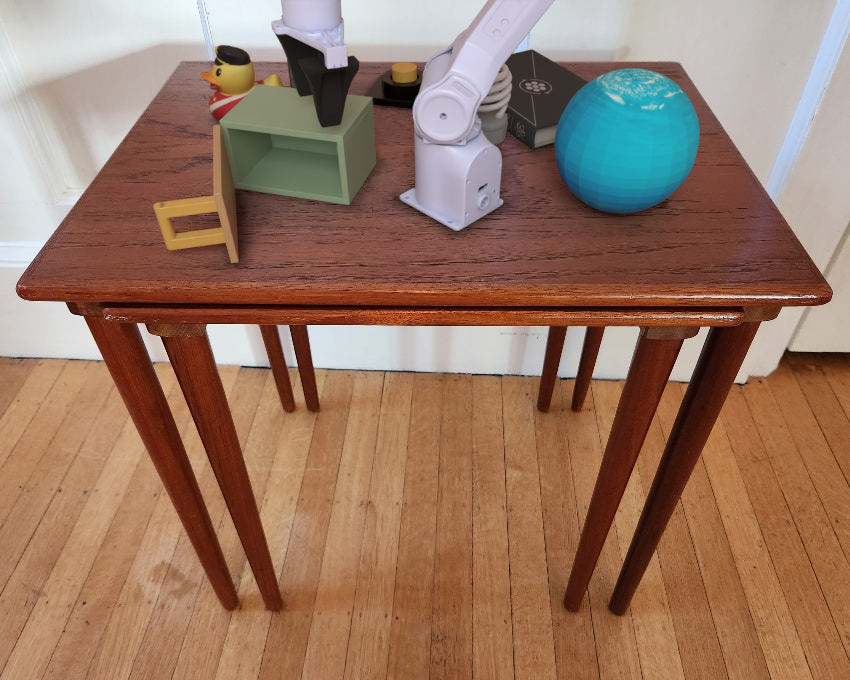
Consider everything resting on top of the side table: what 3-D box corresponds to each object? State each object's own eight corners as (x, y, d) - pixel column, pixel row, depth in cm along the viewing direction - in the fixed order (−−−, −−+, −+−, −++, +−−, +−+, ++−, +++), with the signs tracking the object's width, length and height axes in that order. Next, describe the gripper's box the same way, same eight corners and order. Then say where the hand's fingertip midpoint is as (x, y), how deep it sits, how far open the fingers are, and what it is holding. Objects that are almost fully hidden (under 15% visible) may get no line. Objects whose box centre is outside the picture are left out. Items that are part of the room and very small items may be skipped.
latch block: (444, 87, 101) (445, 69, 99) (430, 111, 96) (430, 91, 94) (381, 80, 103) (380, 62, 101) (363, 103, 98) (362, 84, 96)
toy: (208, 110, 97) (190, 38, 90) (282, 98, 99) (271, 27, 92) (217, 139, 90) (199, 64, 83) (296, 125, 93) (285, 51, 86)
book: (447, 88, 101) (448, 68, 99) (530, 68, 106) (532, 48, 104) (530, 150, 87) (533, 129, 85) (621, 124, 92) (625, 103, 90)
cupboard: (349, 205, 79) (342, 136, 73) (234, 188, 81) (219, 120, 75) (376, 163, 85) (372, 96, 80) (270, 148, 88) (258, 84, 82)
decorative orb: (534, 173, 83) (548, 48, 73) (653, 166, 84) (684, 42, 74) (563, 245, 73) (586, 111, 62) (700, 236, 74) (744, 103, 63)
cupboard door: (170, 272, 70) (146, 202, 64) (175, 197, 80) (155, 131, 74) (238, 262, 71) (221, 192, 65) (235, 189, 81) (220, 124, 75)
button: (420, 75, 99) (419, 63, 98) (413, 85, 96) (412, 73, 95) (396, 72, 100) (395, 60, 98) (388, 82, 97) (388, 70, 96)
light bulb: (456, 162, 85) (459, 66, 77) (468, 141, 89) (471, 48, 81) (501, 168, 84) (508, 72, 76) (510, 147, 88) (518, 53, 80)
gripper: (247, -48, 67) (264, 87, 77) (289, 0, 58) (303, 146, 67) (316, -53, 69) (324, 78, 79) (367, -8, 60) (369, 134, 70)
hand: (319, 109), depth 73 cm, fingers open, 7 cm apart
